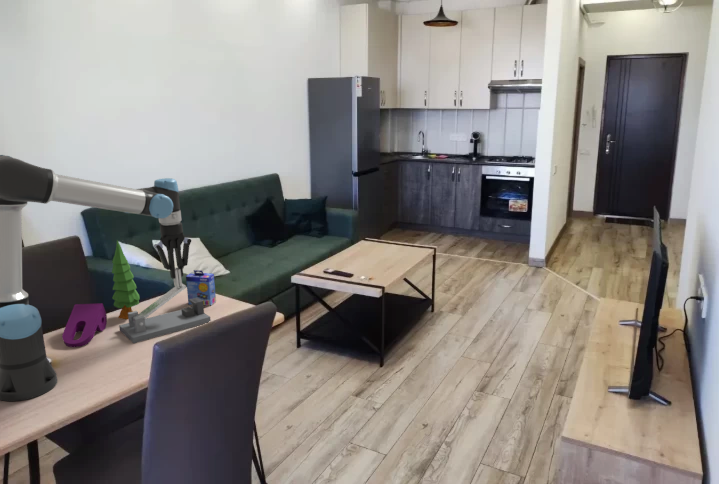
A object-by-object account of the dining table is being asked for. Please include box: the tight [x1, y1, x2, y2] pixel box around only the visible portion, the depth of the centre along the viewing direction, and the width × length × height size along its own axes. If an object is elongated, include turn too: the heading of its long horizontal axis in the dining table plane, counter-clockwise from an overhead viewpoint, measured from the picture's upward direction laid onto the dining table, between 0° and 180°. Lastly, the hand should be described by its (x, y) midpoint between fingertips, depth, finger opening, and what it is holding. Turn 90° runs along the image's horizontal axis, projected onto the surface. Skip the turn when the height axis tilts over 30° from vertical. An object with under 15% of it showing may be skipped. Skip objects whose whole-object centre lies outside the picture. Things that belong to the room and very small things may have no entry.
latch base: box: [118, 298, 212, 344], centre depth 196 cm, size 28×14×7 cm, turn 131°
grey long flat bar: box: [132, 283, 187, 321], centre depth 193 cm, size 21×4×2 cm, turn 130°
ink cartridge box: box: [185, 269, 217, 306], centre depth 217 cm, size 10×6×14 cm, turn 82°
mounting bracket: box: [61, 303, 108, 348], centre depth 188 cm, size 9×8×18 cm
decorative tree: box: [111, 239, 140, 321], centre depth 202 cm, size 10×9×30 cm
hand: (178, 285), depth 197 cm, fingers closed
